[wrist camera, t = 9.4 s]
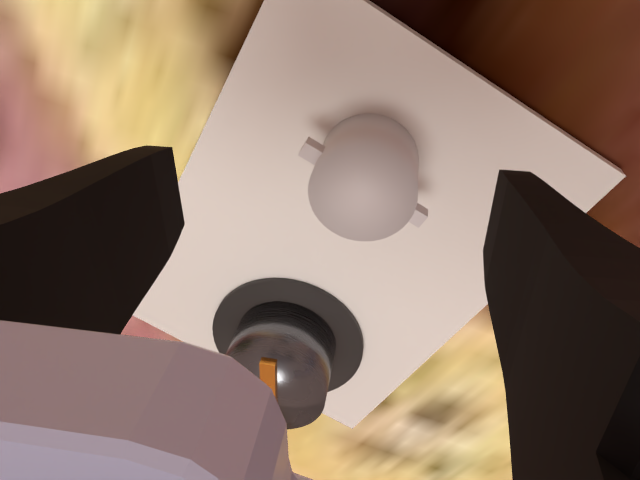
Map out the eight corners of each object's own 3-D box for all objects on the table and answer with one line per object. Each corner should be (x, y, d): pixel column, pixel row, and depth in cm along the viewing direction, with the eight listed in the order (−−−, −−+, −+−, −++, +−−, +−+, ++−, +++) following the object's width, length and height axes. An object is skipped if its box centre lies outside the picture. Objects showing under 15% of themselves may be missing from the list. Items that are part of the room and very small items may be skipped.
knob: (333, 381, 29) (321, 443, 26) (240, 367, 30) (217, 426, 26) (338, 309, 26) (326, 369, 23) (235, 294, 27) (209, 350, 23)
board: (621, 169, 21) (653, 216, 18) (353, 420, 32) (346, 475, 29) (291, -52, 19) (266, -41, 16) (124, 301, 30) (90, 347, 27)
